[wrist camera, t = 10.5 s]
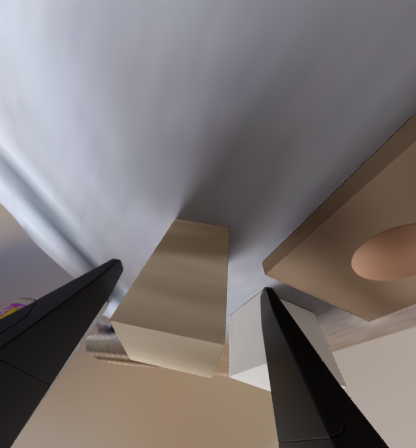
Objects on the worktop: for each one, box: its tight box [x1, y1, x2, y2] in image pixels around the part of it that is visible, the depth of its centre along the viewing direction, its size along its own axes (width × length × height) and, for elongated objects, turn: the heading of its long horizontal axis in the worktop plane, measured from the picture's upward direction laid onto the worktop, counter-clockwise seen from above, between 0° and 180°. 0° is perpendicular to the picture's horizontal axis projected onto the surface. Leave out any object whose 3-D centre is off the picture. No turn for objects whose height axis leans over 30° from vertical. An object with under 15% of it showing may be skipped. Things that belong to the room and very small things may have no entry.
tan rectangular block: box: [110, 219, 229, 378], centre depth 9 cm, size 4×4×7 cm
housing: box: [229, 291, 347, 391], centre depth 14 cm, size 6×6×5 cm
